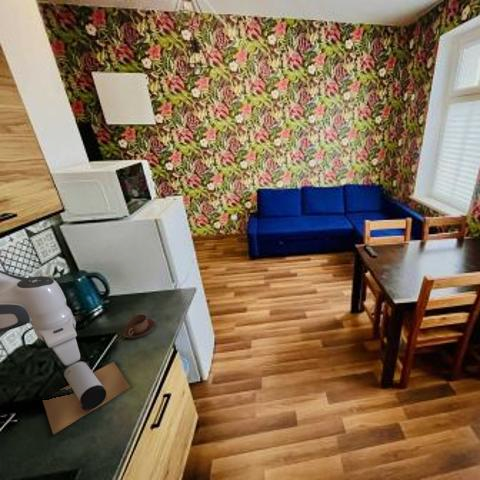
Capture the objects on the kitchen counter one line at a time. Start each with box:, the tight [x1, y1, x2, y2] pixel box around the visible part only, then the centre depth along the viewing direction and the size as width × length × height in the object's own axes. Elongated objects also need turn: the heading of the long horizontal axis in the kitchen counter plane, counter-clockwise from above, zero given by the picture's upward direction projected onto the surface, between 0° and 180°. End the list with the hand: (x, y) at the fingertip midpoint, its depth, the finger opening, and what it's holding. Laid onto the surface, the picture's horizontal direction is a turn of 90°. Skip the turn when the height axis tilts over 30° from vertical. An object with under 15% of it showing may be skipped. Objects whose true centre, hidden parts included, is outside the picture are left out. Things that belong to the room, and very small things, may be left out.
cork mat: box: [42, 361, 131, 435], centre depth 91 cm, size 20×17×1 cm
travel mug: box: [63, 360, 106, 410], centre depth 90 cm, size 6×7×20 cm
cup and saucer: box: [122, 314, 155, 339], centre depth 117 cm, size 12×12×6 cm
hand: (71, 358), depth 87 cm, fingers closed
